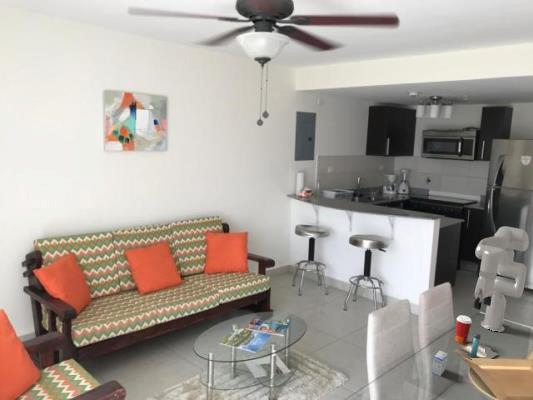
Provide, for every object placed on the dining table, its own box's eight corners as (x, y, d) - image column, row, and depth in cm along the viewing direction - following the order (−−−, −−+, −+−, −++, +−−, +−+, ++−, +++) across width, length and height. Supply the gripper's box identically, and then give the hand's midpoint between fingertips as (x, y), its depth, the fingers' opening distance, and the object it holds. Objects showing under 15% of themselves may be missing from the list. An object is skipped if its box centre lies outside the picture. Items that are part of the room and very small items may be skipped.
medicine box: (436, 366, 214) (439, 350, 213) (445, 369, 211) (448, 353, 210) (431, 372, 208) (433, 356, 206) (440, 376, 205) (443, 359, 204)
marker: (472, 353, 226) (476, 332, 224) (477, 356, 224) (481, 335, 222) (469, 355, 225) (473, 334, 222) (474, 358, 222) (478, 336, 220)
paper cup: (465, 339, 245) (469, 315, 242) (470, 345, 237) (474, 322, 234) (451, 337, 245) (455, 314, 243) (455, 344, 238) (459, 320, 235)
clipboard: (472, 343, 240) (473, 340, 240) (498, 355, 229) (498, 352, 229) (454, 351, 230) (455, 348, 229) (480, 364, 219) (481, 361, 218)
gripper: (489, 269, 224) (483, 300, 227) (471, 274, 214) (465, 307, 217) (503, 274, 218) (497, 306, 221) (486, 279, 208) (480, 313, 211)
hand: (482, 306), depth 219 cm, fingers open, 9 cm apart
